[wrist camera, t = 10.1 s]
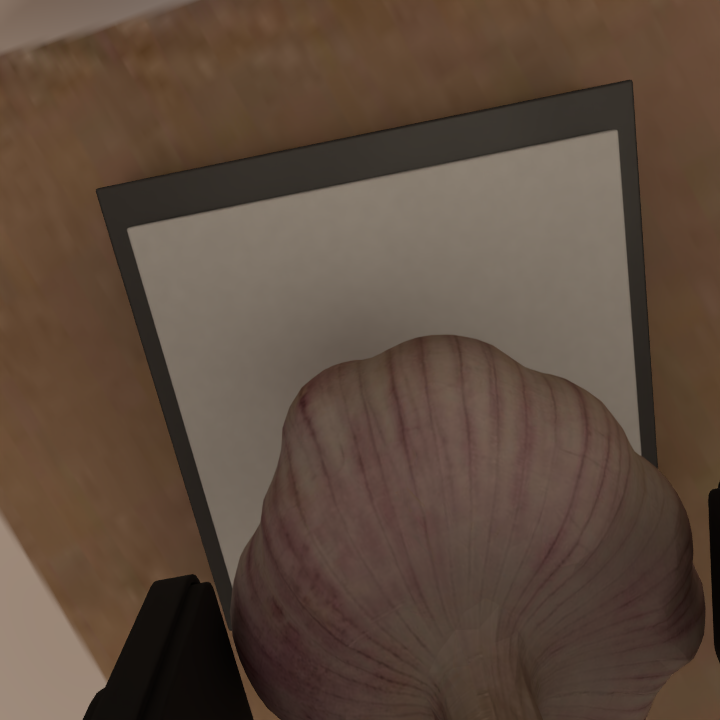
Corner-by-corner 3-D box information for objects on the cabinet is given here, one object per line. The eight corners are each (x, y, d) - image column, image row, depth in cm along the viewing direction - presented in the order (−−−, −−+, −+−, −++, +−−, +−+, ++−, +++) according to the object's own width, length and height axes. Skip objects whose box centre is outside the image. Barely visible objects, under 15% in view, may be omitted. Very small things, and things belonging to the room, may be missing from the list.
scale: (597, 89, 19) (644, 75, 16) (631, 514, 23) (673, 565, 20) (123, 185, 19) (85, 189, 16) (240, 585, 23) (225, 645, 20)
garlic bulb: (255, 299, 11) (51, 601, 3) (677, 318, 11) (1372, 642, 4) (254, 663, 13) (126, 1348, 6) (608, 673, 13) (951, 1343, 6)
